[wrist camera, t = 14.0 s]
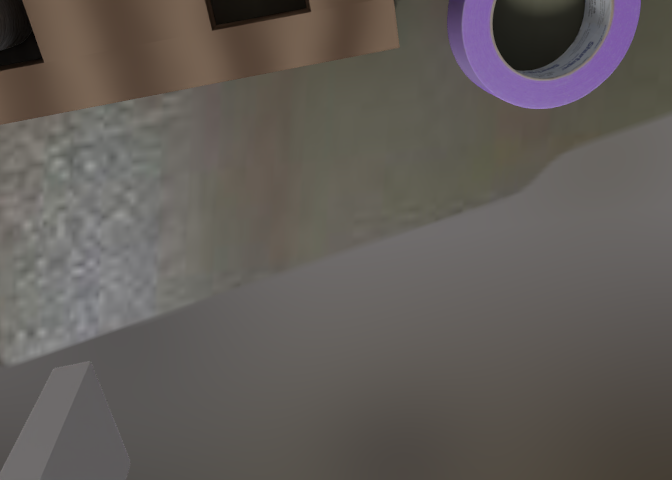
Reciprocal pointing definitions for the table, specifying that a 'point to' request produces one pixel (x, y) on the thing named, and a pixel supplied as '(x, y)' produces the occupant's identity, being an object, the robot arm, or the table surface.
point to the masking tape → (555, 78)
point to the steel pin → (13, 23)
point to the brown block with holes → (175, 48)
